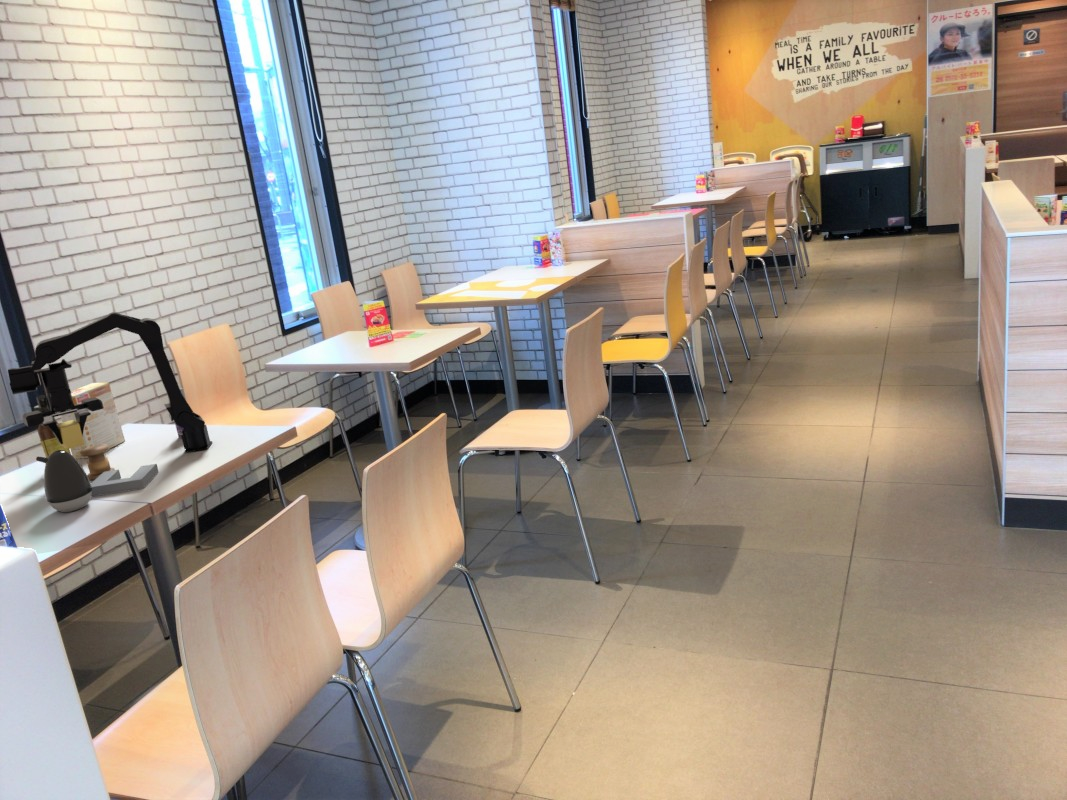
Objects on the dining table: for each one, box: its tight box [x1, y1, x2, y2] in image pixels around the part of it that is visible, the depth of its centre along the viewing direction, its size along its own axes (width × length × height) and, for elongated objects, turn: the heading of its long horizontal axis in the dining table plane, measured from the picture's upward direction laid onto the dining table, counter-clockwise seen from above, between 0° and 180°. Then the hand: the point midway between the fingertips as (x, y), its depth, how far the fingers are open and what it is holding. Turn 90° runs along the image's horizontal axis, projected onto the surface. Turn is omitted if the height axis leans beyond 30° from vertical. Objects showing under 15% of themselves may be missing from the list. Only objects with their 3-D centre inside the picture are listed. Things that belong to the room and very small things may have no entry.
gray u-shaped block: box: [90, 463, 160, 497], centre depth 222 cm, size 14×12×2 cm
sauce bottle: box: [33, 404, 72, 458], centre depth 239 cm, size 6×6×20 cm
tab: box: [57, 420, 85, 450], centre depth 230 cm, size 7×4×6 cm, turn 42°
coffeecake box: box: [59, 381, 126, 460], centre depth 256 cm, size 15×7×20 cm, turn 164°
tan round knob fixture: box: [80, 444, 116, 482], centre depth 231 cm, size 7×7×8 cm
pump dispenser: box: [35, 450, 92, 513], centre depth 208 cm, size 10×10×15 cm
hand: (71, 441), depth 230 cm, fingers closed on tab, 4 cm apart
